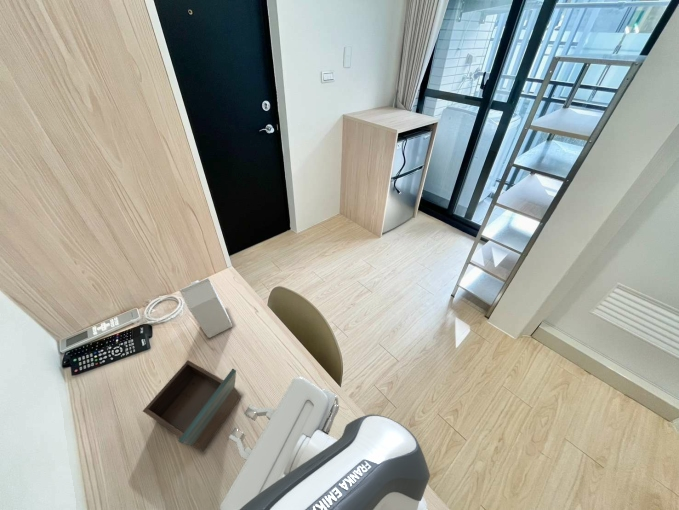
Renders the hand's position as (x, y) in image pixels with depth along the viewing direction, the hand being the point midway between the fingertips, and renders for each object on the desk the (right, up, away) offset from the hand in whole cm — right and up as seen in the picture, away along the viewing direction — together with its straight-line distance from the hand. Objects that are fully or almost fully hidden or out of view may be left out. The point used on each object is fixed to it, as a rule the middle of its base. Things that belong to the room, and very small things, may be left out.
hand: (240, 421), depth 44 cm
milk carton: (-21, +6, +38) cm, 44 cm away
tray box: (-18, -10, +21) cm, 29 cm away
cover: (-9, -2, +8) cm, 12 cm away
